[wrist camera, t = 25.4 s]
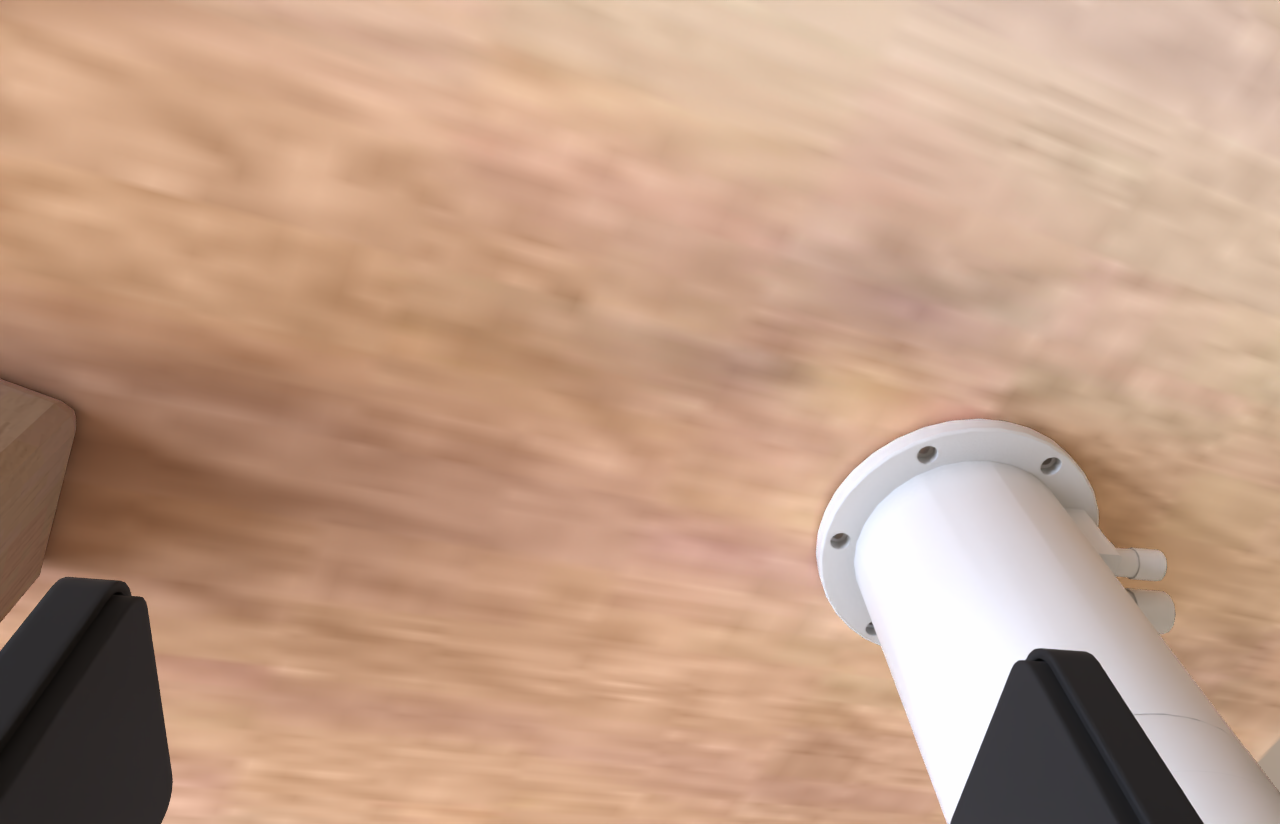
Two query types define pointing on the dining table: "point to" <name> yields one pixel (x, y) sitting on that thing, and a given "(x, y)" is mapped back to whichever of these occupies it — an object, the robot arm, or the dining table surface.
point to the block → (29, 482)
